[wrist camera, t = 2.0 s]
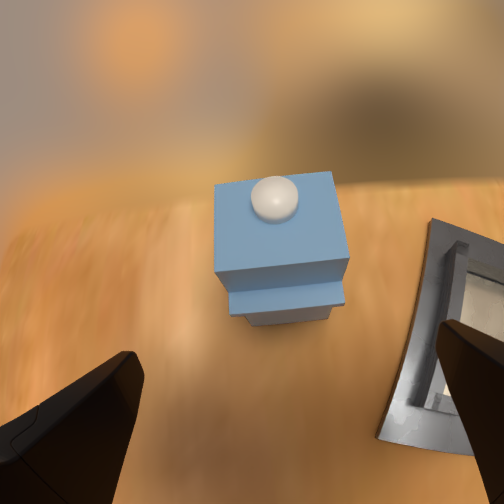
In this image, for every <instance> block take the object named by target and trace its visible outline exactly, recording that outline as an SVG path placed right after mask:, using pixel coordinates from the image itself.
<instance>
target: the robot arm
mask: <svg viewBox="0 0 504 504" xmlns="http://www.w3.org/2000/svg"><path fill="white" fill-rule="evenodd" d="M435 349H436V353H437V356H438V359H439V362H440V365H441V368H442V371H443V374H444V377H445V381H446V384H447V387H448V390H449V393H450V395H451V398H452V400H453V402H454V405H455V407H456V409H457V412H458V414H459V417H460V419H461V422H462V424H463V427H464V429H465V432H466V434H467V437H468V440H469V442H470V445H471V448H472V451H473V453H474V456H475V459H476V462H477V465H478V468H479V471H480V474H481V477H482V480H483V483H484V486H485V490H486V493H487V496H488V500H489V503H490V504H504V342H503V341H500V340H498V339H496V338H494V337H492V336H490V335H487V334H485V333H483V332H481V331H479V330H476V329H474V328H472V327H470V326H468V325H465V324H463V323H461V322H459V321H457V320H454V319H449V320H444V321H442V322H440V324H439V328H438V333H437V338H436V344H435ZM143 383H144V371H143V369H142V366H141V364H140V361H139V359H138V357H137V354H136V353H135V352H133V351H121V352H120V353H118V354H117V355H115V356H114V357H112V358H110V359H109V360H107V361H106V362H104V363H103V364H101V365H100V366H98V367H97V368H95V369H93V370H92V371H90V372H89V373H87V374H86V375H84V376H83V377H81V378H79V379H78V380H76V381H75V382H73V383H72V384H70V385H68V386H67V387H65V388H64V389H62V390H61V391H59V392H58V393H56V394H54V395H53V396H51V397H50V398H48V399H46V400H45V401H43V402H42V403H40V404H39V405H37V406H35V407H34V408H32V409H31V410H29V411H27V412H26V413H24V414H22V415H21V416H19V417H17V418H15V419H14V420H12V421H10V422H8V423H6V424H4V425H2V426H1V427H0V504H112V502H113V498H114V494H115V491H116V487H117V483H118V480H119V476H120V472H121V469H122V465H123V462H124V459H125V455H126V452H127V448H128V445H129V442H130V438H131V435H132V432H133V429H134V425H135V422H136V418H137V414H138V408H139V403H140V398H141V393H142V388H143Z"/></svg>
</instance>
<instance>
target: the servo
mask: <svg viewBox="0 0 504 504" xmlns="http://www.w3.org/2000/svg"><path fill="white" fill-rule="evenodd" d="M349 258H350V256H349V251H348V246H347V240H346V235H345V231H344V226H343V221H342V216H341V212H340V207H339V203H338V198H337V194H336V190H335V185H334V182H333V177H332V173H331V171H329V172H317V173H307V174H297V175H287V176H272V177H267V178H262V179H254V180H246V181H239V182H231V183H224V184H217V185H215V191H214V272H215V274H216V275H217V277H218V278H219V279H220V281H221V282H222V284H223V285H224V287H225V288H226V290H227V291H228V293H229V315H230V316H231V317H240V316H245V317H246V318H247V320H248V321H249V323H250V324H251V326H262V325H273V324H284V323H294V322H303V321H313V320H321V319H328V317H329V315H330V312H331V309H332V307H338V306H344V304H345V299H344V292H343V285H342V279H343V276H344V273H345V270H346V267H347V264H348V261H349Z"/></svg>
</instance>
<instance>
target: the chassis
mask: <svg viewBox="0 0 504 504" xmlns="http://www.w3.org/2000/svg"><path fill="white" fill-rule="evenodd" d="M449 319H454V320H457V321H459V322H461V323H463V324H465V325H468V326H470V327H472V328H474V329H476V330H479V331H481V332H483V333H485V334H487V335H490V336H492V337H494V338H496V339H498V340H500V341H503V342H504V244H502V243H499V242H497V241H494V240H492V239H489V238H486V237H484V236H481V235H479V234H476V233H473V232H471V231H468V230H465V229H463V228H460V227H457V226H454V225H452V224H449V223H446V222H443V221H440V220H437V219H434V218H432V219H431V221H430V222H429V227H428V235H427V242H426V249H425V256H424V262H423V268H422V274H421V279H420V284H419V289H418V294H417V299H416V304H415V309H414V313H413V317H412V322H411V326H410V330H409V334H408V338H407V342H406V345H405V349H404V353H403V356H402V360H401V363H400V367H399V370H398V373H397V376H396V380H395V383H394V386H393V389H392V392H391V395H390V398H389V401H388V404H387V407H386V409H385V412H384V415H383V418H382V420H381V423H380V426H379V428H378V431H377V433H376V436H375V437H376V438H377V439H381V440H385V441H389V442H394V443H398V444H403V445H408V446H413V447H418V448H424V449H429V450H435V451H441V452H447V453H454V454H462V455H470V456H474V453H473V451H472V448H471V445H470V442H469V440H468V437H467V434H466V432H465V429H464V427H463V424H462V422H461V419H460V417H459V414H458V412H457V409H456V407H455V405H454V402H453V400H452V398H451V395H450V393H449V390H448V387H447V384H446V381H445V377H444V374H443V371H442V368H441V365H440V362H439V359H438V356H437V353H436V349H435V344H436V338H437V333H438V328H439V324H440V322H442V321H444V320H449Z"/></svg>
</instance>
